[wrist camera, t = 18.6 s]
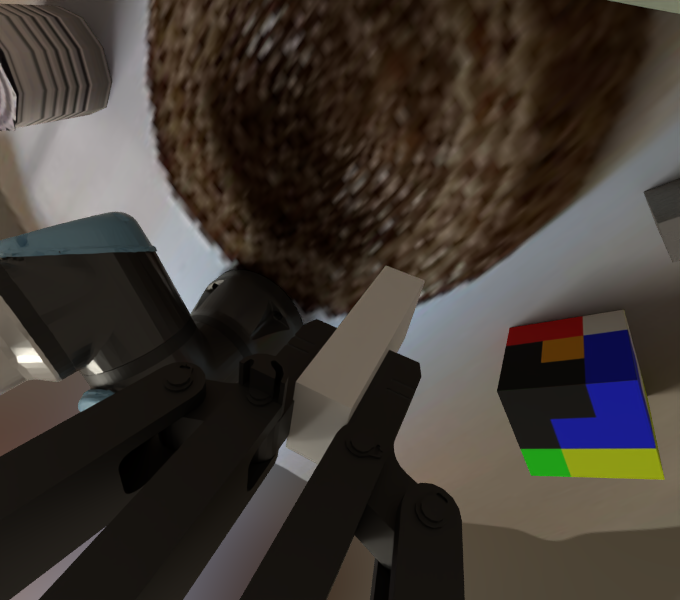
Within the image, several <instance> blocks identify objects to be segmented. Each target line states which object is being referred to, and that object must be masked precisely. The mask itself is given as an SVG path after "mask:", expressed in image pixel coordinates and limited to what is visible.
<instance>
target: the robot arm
mask: <svg viewBox="0 0 680 600" xmlns="http://www.w3.org/2000/svg"><path fill="white" fill-rule="evenodd" d="M155 251H157V250H156V248H155V247H154V246H152V245H151V243H150V241H149V240H148V238H147V237H146V235H145V233H144V232H143V230H142V229H141V227H140V225H139V224H138V222H137V221H136V220H135V219H134V218H133V217H132V216H130V215H128V214H126V213H123V212H109V213H104V214H100V215H95V216H91V217H87V218H82V219H78V220H74V221H70V222H66V223H62V224H58V225H55V226H51V227H47V228H43V229H40V230H36V231H32V232H30V233H26V234H22V235H19V236H15V237H10V238H7V239H4V240H0V395H1V394H3V393H5V392H7V391H9V390H10V389H12V388H14V387H16V386H18V385H19V384H21V383H23V382H25V381H26V380H32V379H39V380H47V381H55V382H59V381H61V380H63V379H65V378H66V377H68V376H70V375H71V374H73V373H75V372H76V371H79V372H80V373H81V374H82V375H83V377H84V378H85V380H86V381H87V383H88V384H89V386H90V387H91V389H90V390H88V391H87V392H85V393H84V394H83V396H82V398H81V399H80V401H79V404H78V408H79V411H80V413H78V414H77V415H75V416H73V417H71V418H69V419H67V420H66V421H64V422H62V423H60V424H58V425H57V426H55V427H53V428H51V429H49V430H48V431H46V432H44V433H43V434H40V435H39V436H37V437H35V438H33V439H31V440H30V441H28V442H26V443H24V444H22V445H20V446H19V447H17V448H15V449H13V450H11V451H10V452H8V453H6V454H4V455H3V456H1V457H0V600H9V599H11V598H12V597H13V596H15V595H16V594H18V593H19V592H20V591H21V590H23V589H24V588H25V587H27V586H28V585H29V584H31V583H32V582H33V581H35V580H36V579H37V578H39V577H40V576H41V575H42V574H44V573H45V572H46V571H48V570H49V569H50V568H52V567H53V566H54V565H56V564H57V563H58V562H60V561H61V560H62V559H64V558H65V557H66V556H67V555H69V554H70V553H71V552H73V551H74V550H75V549H77V548H78V547H79V546H81V545H82V544H83V543H84V542H86V541H87V540H88V539H90V538H91V537H92V536H93V535H95V534H96V533H98V532H99V531H100V530H102V529H103V528H104V527H105V529H104V530H103V531H102V532H101V533H100V534H99V535H98V536H97V537H96V538H95V539H94V541H92V543H91V544H90V545H89V546H88V547H87V548H86V549H85V550H84V551H83V552H82V553H81V554H80V556H79V557H78V558H77V559H76V560H75V561H74V562H73V563H72V564H71V565H70V566H69V568H68V569H67V570H66V571H65V572H64V573H63V574H62V575H61V576H60V577H59V578H58V579H57V580H56V581H55V583H54V584H53V585H52V586H51V587H50V588H49V589H48V590H47V591H46V592H45V593H44V595H43V596H42V597H41V598H40V599H39V600H183V599H184V597H185V596H186V594H187V593H188V592H189V590H190V588H191V587H192V586H193V584H194V583H195V581H196V579H197V578H198V577H199V575H200V574H201V572H202V571H203V569H204V568H205V566H206V565H207V563H208V562H209V560H210V559H211V557H212V556H213V554H214V553H215V551H216V550H217V548H218V547H219V546H220V544H221V542H222V541H223V540H224V538H225V537H226V535H227V534H228V532H229V531H230V529H231V527H232V526H233V525H234V523H235V522H236V520H237V519H238V517H239V516H240V514H241V513H242V511H243V510H244V508H245V507H246V505H247V504H248V502H249V501H250V500H251V498H252V496H253V495H254V494H255V492H256V491H257V489H258V487H259V486H260V485H261V483H262V482H263V480H264V479H265V477H266V476H267V474H268V473H269V471H270V470H271V468H272V467H273V465H274V464H275V461H276V459H277V457H278V450H279V448H280V447H281V445H282V444H283V442H284V441H285V439H286V438H287V442H286V447H287V448H288V449H290V450H292V451H294V452H296V453H298V454H300V455H302V456H304V457H305V458H307V459H309V460H311V461H313V462H315V463H317V464H318V466H317V467H316V469H315V471H314V472H313V474H312V476H311V478H310V479H309V481H308V483H307V485H306V486H305V488H304V490H303V492H302V493H301V495H300V497H299V498H298V500H297V502H296V503H295V506H294V507H293V509H292V510H291V512H290V514H289V516H288V517H287V519H286V521H285V522H284V524H283V526H282V528H281V529H280V531H279V533H278V534H277V536H276V538H275V540H274V541H273V543H272V545H271V547H270V548H269V550H268V552H267V554H266V555H265V557H264V559H263V560H262V562H261V564H260V566H259V567H258V569H257V571H256V572H255V574H254V576H253V577H252V579H251V581H250V583H249V585H248V586H247V588H246V590H245V591H244V593H243V595H242V596H241V598H240V600H327V598H328V596H329V593H330V591H331V589H332V586H333V584H334V582H335V579H336V577H337V575H338V572H339V570H340V568H341V565H342V563H343V561H344V558H345V556H346V553H347V551H348V549H349V547H350V544H351V542H352V540H353V537H354V535H355V536H356V537H357V538H358V539H359V540H360V541H361V542H362V544H363V545H364V546H365V547H366V548H367V549H368V550H369V551H370V552H371V554H372V555H373V556H374V557H375V562H374V571H373V579H372V587H371V596H370V600H465V598H464V571H463V543H462V520H461V515H460V511H459V508H458V506H457V504H456V503H455V501H454V499H453V498H452V497H451V496H450V495H449V494H448V493H447V492H446V491H445V490H444V489H442V488H440V487H438V486H436V485H434V484H429V483H419V484H417V483H416V482H415V481H414V480H413V479H412V478H411V477H410V476H409V475H408V474H407V473H406V472H405V471H404V470H403V469H402V468H401V467H400V465H399V463H398V461H397V460H396V457H395V453H394V441H395V438H396V436H397V434H398V431H399V429H400V427H401V424H402V422H403V420H404V417H405V415H406V413H407V410H408V408H409V405H410V403H411V401H412V398H413V396H414V393H415V391H416V388H417V386H418V384H419V381H420V379H421V370H420V363H418V362H416V361H414V360H412V359H409V358H407V357H405V356H402V355H400V354H398V353H397V352H398V350H399V348H400V346H401V344H402V342H403V340H404V338H405V336H406V333H407V330H408V328H409V325H410V322H411V319H412V316H413V313H414V311H415V308H416V305H417V302H418V299H419V296H420V293H421V291H422V288H423V285H424V282H425V280H422V279H420V278H417V277H414V276H412V275H409V274H407V273H404V272H401V271H399V270H396V269H394V268H391V267H388V266H385V267H384V269H383V270H382V271H381V272H380V274H379V275H378V276H377V278H376V279H375V280H374V281H373V283H372V284H371V285H370V287H369V288H368V289H367V290H366V292H365V293H364V294H363V296H362V297H361V298H360V300H359V301H358V302H357V303H356V305H355V306H354V307H353V309H352V310H351V311H350V312H349V314H348V315H347V316H346V318H345V319H344V320H343V321H342V323H341V324H340V325H339V327H338V328H336V327H333V326H331V325H329V324H327V323H324V322H322V321H320V320H317V319H316V320H313V321H311V322H309V323H307V324H305V325H302V321H301V318H300V315H299V313H298V311H297V309H296V307H295V306H294V304H293V302H292V301H291V300H290V298H289V297H288V296H287V295H286V294H285V292H284V291H283V290H282V289H281V288H279V287H278V286H277V285H276V284H275V283H273V282H272V281H270V280H269V279H267V278H266V277H264V276H262V275H260V274H257V273H255V272H251V271H247V270H232V271H228V272H226V273H224V274H222V275H221V276H220V277H218V278H217V279H215V280H214V281H213V282H212V283H210V284H209V286H208V287H207V288H206V290H205V291H204V293H203V294H202V296H201V298H200V299H199V301H198V303H197V304H196V306H195V307H194V309H193V311H192V312H191V314H190V313H189V311H188V309H187V308H186V306H185V304H184V302H183V300H182V299H181V297H180V295H179V293H178V291H177V290H176V288H175V286H174V284H173V282H172V281H171V279H170V277H169V275H168V273H167V272H166V270H165V268H164V266H163V264H162V263H161V261H160V259H159V257H158V255H157V254H156V252H155Z"/></svg>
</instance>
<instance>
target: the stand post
mask: <svg viewBox="0 0 680 600" xmlns="http://www.w3.org/2000/svg"><path fill="white" fill-rule="evenodd" d="M644 194H645V197H646V200H647V202H648V205H649V207H650V210H651V213H652V215H653V218H654V221H655V223H656V226H657V228H658V230H659V233H660V235H661V237H662V239H663V242H664V244H665V246H666V249H667V251H668V253H669V256H670V258H671V260H672V262H676V261H680V178H679V179H677V180H674V181H672V182H669V183H666V184H664V185H661V186H658V187H656V188H653V189H650V190H648V191H645V192H644Z"/></svg>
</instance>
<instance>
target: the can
mask: <svg viewBox="0 0 680 600" xmlns="http://www.w3.org/2000/svg"><path fill="white" fill-rule="evenodd" d="M111 85H112V80H111V76H110V73H109V69H108V65H107V61H106V57H105V53H104V49H103V47H102V45H101V44H100V42H99V41H98V40H97V38H96V37H95V35H94V34H93V32H92V31H91V29H90V28H89V27H88V25H87V24H86V22H85V21H84V19H83V18H82V17H80V16H78V15H76V14H74V13H72V12H70V11H68V10H65V9H63V8H61V7H59V6H43V5H19V4H0V131H3V130H13V131H15V128H19V127H25V126H30V125H36V124H41V123H47V122H52V121H58V120H63V119H69V118H74V117H80V116H85V115H90V114H92V113H95V112H97V111H99V110H101V109H104V108H106V107H107V103H108V98H109V94H110V89H111Z"/></svg>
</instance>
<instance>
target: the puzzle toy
mask: <svg viewBox="0 0 680 600" xmlns="http://www.w3.org/2000/svg"><path fill="white" fill-rule="evenodd" d="M497 392H498V395H499V397H500V400H501V402H502V405H503V407H504V410H505V412H506V414H507V417H508V419H509V422H510V424H511V427H512V429H513V432H514V434H515V437H516V439H517V442H518V444H519V447H520V449H521V451H522V454H523V456H524V459H525V461H526V464H527V466H528V469H529V471H530V474H531V476H563V477H596V478H629V479H663V480H665V479H664V474H663V470H662V465H661V460H660V455H659V450H658V446H657V441H656V436H655V431H654V427H653V422H652V417H651V412H650V407H649V403H648V398H647V394H646V390H645V386H644V382H643V379H642V375H641V371H640V367H639V364H638V360H637V356H636V352H635V349H634V345H633V341H632V337H631V334H630V330H629V326H628V322H627V319H626V315H625V311H624V310H618V311H612V312H606V313H599V314H593V315H587V316H581V317H574V318H568V319H562V320H556V321H549V322H543V323H537V324H531V325H524V326H518V327H512V328H510V329H509V334H508V339H507V344H506V349H505V354H504V359H503V364H502V369H501V374H500V379H499V384H498V389H497Z"/></svg>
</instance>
